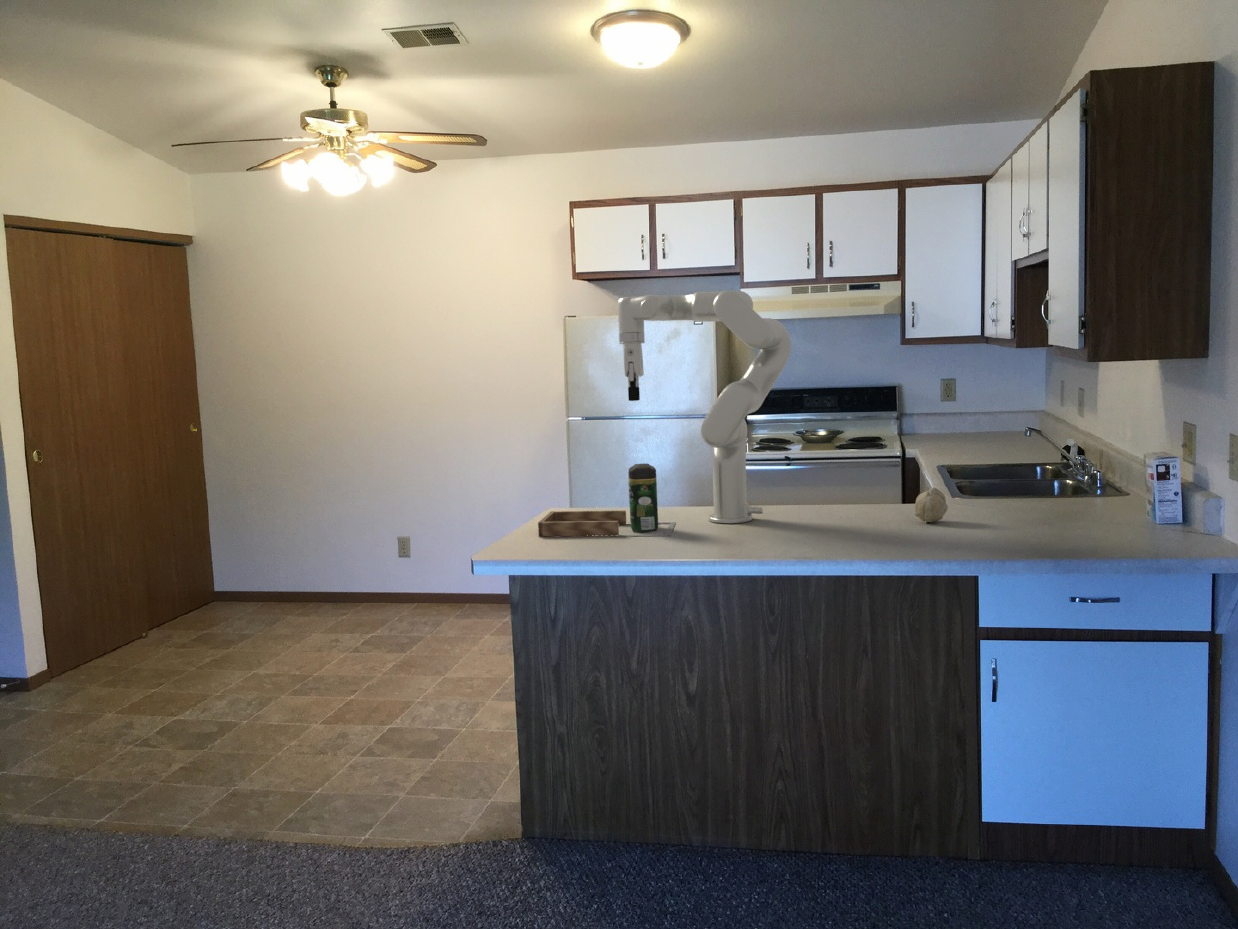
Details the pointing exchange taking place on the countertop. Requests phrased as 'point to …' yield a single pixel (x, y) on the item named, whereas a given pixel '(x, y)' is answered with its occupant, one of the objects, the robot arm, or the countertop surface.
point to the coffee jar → (643, 498)
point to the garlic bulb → (931, 505)
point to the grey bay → (668, 533)
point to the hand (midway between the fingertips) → (634, 400)
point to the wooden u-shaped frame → (581, 523)
